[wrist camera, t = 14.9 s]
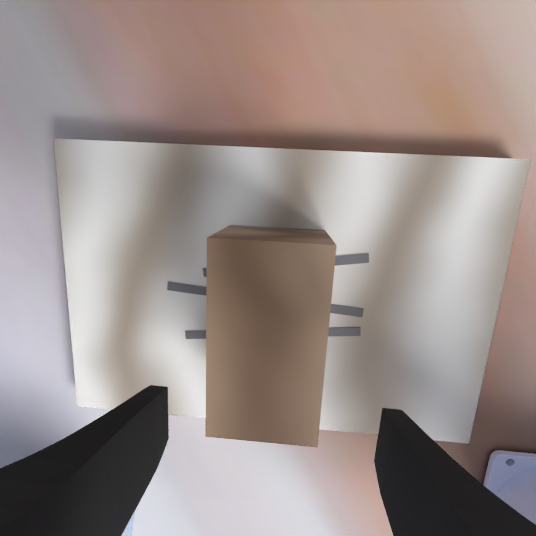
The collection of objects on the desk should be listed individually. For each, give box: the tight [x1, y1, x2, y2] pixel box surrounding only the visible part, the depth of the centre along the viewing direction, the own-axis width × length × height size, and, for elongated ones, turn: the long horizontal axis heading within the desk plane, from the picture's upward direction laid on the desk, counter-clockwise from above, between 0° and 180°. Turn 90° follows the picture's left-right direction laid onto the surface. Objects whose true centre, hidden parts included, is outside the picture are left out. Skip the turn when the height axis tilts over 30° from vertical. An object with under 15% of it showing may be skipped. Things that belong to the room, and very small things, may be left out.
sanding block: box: [206, 225, 337, 447], centre depth 16 cm, size 5×9×5 cm, turn 178°
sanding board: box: [53, 138, 531, 444], centre depth 19 cm, size 24×16×1 cm, turn 88°
